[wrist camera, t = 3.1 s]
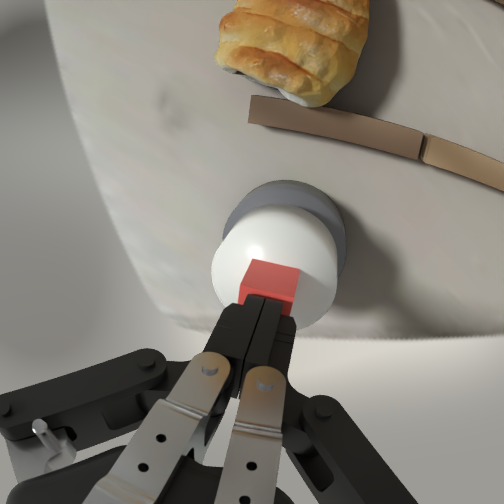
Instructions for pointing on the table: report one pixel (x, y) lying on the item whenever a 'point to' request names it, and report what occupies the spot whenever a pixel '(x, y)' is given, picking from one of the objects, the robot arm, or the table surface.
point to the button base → (298, 197)
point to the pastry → (295, 45)
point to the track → (377, 136)
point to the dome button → (279, 262)
